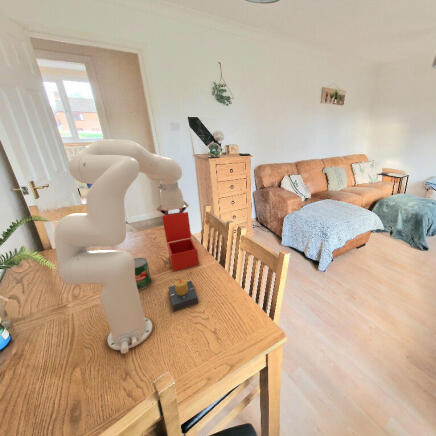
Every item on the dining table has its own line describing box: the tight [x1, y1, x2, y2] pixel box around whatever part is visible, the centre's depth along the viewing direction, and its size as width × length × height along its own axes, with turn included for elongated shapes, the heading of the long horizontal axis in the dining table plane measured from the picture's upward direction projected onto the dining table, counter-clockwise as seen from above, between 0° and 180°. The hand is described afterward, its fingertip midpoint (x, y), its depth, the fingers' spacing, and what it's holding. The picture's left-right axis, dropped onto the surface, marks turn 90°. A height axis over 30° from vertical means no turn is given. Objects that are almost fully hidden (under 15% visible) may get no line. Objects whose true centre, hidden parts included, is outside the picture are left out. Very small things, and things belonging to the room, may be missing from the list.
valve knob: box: [174, 278, 188, 296], centre depth 95 cm, size 4×4×5 cm
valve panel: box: [167, 280, 199, 312], centre depth 96 cm, size 12×9×3 cm
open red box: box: [166, 237, 200, 272], centre depth 119 cm, size 14×12×9 cm
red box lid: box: [161, 211, 192, 243], centre depth 122 cm, size 14×12×6 cm
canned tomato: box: [134, 257, 153, 291], centre depth 101 cm, size 8×8×11 cm
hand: (175, 220), depth 123 cm, fingers closed on red box lid, 5 cm apart
